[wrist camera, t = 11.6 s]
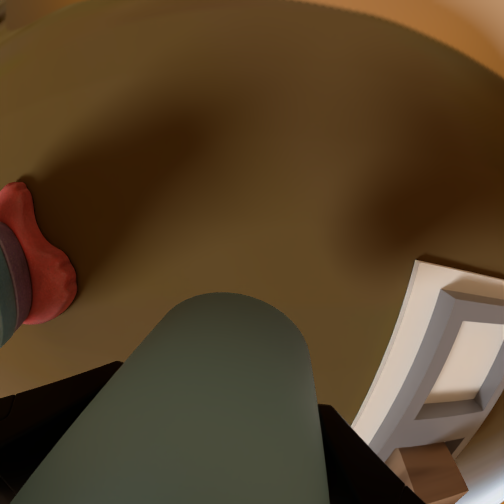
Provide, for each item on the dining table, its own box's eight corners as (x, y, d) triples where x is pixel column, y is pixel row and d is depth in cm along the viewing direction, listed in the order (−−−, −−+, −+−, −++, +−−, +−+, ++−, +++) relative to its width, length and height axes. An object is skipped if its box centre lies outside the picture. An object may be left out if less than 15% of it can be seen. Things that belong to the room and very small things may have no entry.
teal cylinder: (289, 430, 9) (284, 608, 2) (154, 402, 9) (69, 553, 2) (329, 308, 8) (413, 570, 1) (154, 276, 8) (-46, 438, 1)
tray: (427, 479, 19) (433, 493, 16) (311, 490, 19) (312, 508, 17) (536, 287, 14) (554, 296, 11) (415, 259, 14) (435, 270, 12)
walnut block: (415, 469, 18) (433, 520, 11) (371, 474, 18) (384, 533, 11) (441, 435, 16) (468, 490, 10) (395, 441, 17) (418, 505, 10)
